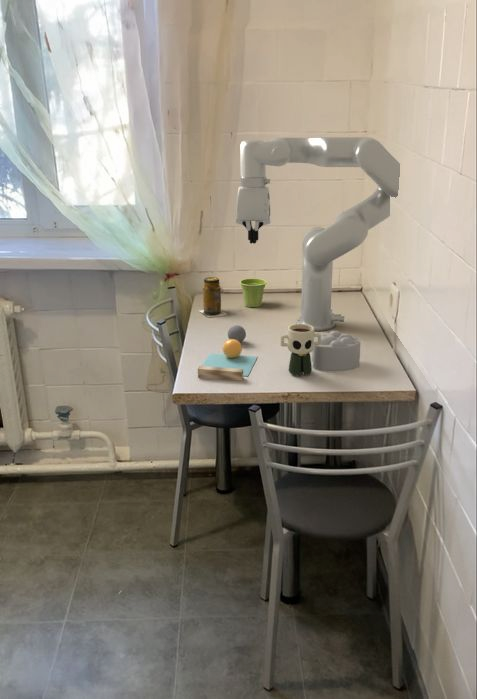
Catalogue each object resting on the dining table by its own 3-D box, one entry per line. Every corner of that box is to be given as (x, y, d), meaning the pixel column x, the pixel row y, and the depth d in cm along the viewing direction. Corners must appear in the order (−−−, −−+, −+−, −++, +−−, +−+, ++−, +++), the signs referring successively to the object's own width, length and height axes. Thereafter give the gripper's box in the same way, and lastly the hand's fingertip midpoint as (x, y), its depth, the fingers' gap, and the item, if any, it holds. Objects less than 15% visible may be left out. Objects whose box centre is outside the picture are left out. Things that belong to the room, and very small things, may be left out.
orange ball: (241, 336, 187) (238, 354, 185) (244, 344, 192) (241, 361, 190) (222, 335, 188) (219, 353, 186) (225, 342, 193) (223, 360, 191)
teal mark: (257, 357, 190) (257, 356, 190) (247, 376, 178) (247, 375, 178) (210, 353, 193) (210, 353, 193) (197, 372, 180) (197, 372, 180)
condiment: (217, 308, 234) (216, 275, 229) (227, 314, 226) (227, 281, 222) (198, 311, 231) (197, 277, 226) (208, 318, 223) (207, 283, 219)
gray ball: (240, 325, 196) (243, 343, 197) (247, 323, 201) (249, 340, 202) (223, 327, 199) (226, 345, 199) (230, 325, 204) (233, 342, 204)
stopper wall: (243, 377, 177) (243, 369, 176) (241, 380, 175) (241, 372, 174) (200, 374, 179) (199, 365, 178) (198, 377, 178) (197, 368, 177)
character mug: (281, 379, 176) (282, 333, 171) (278, 368, 182) (278, 324, 178) (322, 377, 177) (324, 331, 172) (317, 367, 183) (319, 322, 178)
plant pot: (253, 299, 242) (253, 276, 239) (271, 305, 236) (271, 281, 233) (234, 305, 236) (234, 281, 233) (252, 311, 230) (252, 286, 227)
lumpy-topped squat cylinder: (311, 357, 190) (312, 328, 187) (357, 357, 189) (358, 329, 186) (313, 371, 181) (314, 341, 177) (361, 372, 180) (363, 342, 177)
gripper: (279, 181, 202) (278, 240, 209) (231, 180, 205) (232, 239, 212) (275, 184, 195) (275, 246, 202) (226, 184, 198) (227, 244, 205)
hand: (253, 242), depth 207 cm, fingers closed
